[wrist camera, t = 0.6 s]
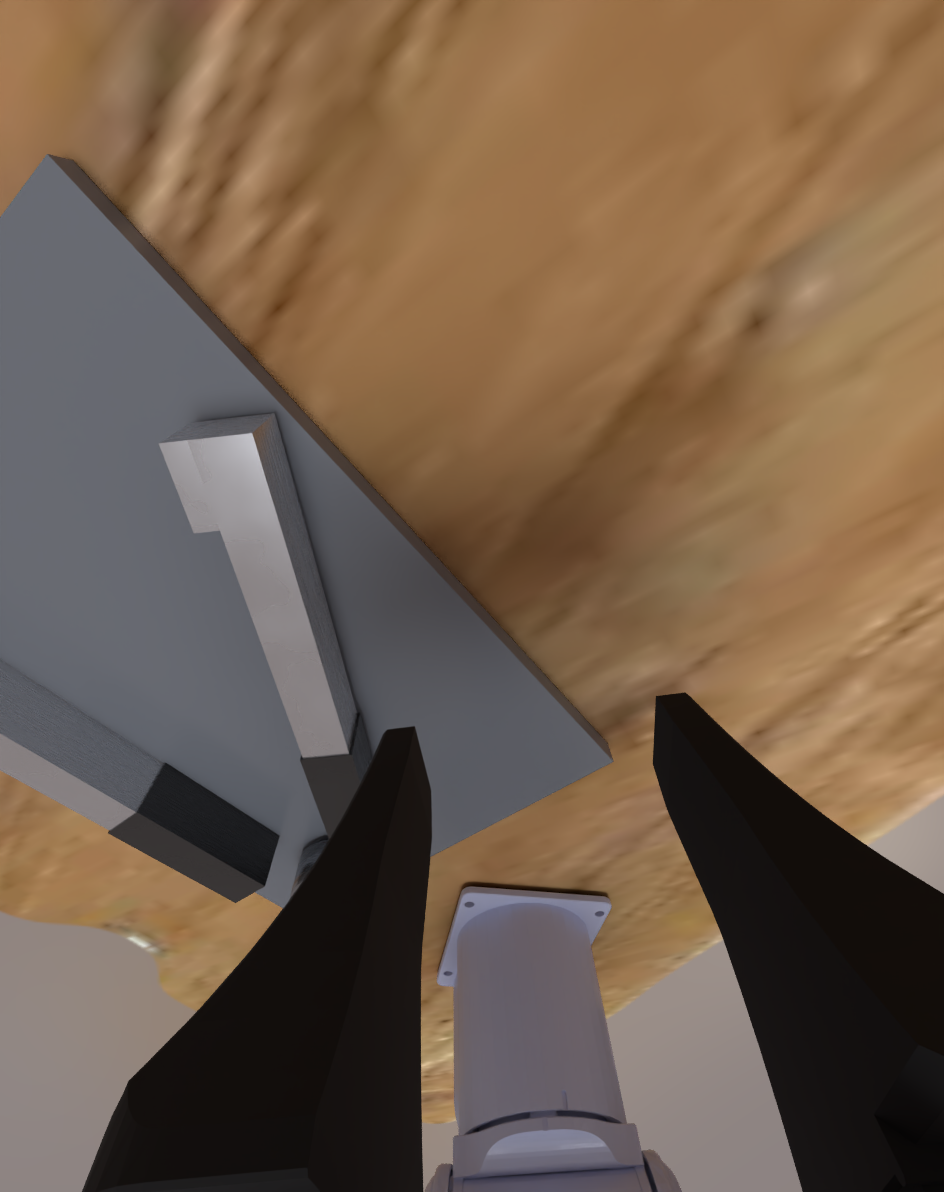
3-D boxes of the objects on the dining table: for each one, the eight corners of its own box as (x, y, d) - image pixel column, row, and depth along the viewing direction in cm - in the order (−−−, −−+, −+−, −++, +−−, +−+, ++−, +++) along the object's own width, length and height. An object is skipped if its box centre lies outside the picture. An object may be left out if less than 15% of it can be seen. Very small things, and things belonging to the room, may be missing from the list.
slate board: (607, 743, 24) (613, 761, 23) (310, 902, 29) (306, 921, 28) (72, 160, 13) (46, 153, 12) (-243, 575, 19) (-276, 590, 18)
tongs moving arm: (406, 882, 27) (403, 928, 25) (310, 891, 27) (300, 937, 25) (278, 412, 15) (255, 433, 14) (112, 430, 15) (68, 453, 14)
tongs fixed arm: (289, 828, 25) (275, 880, 23) (252, 850, 26) (235, 902, 23) (-120, 561, 18) (-195, 602, 15) (-155, 603, 18) (-232, 647, 16)
